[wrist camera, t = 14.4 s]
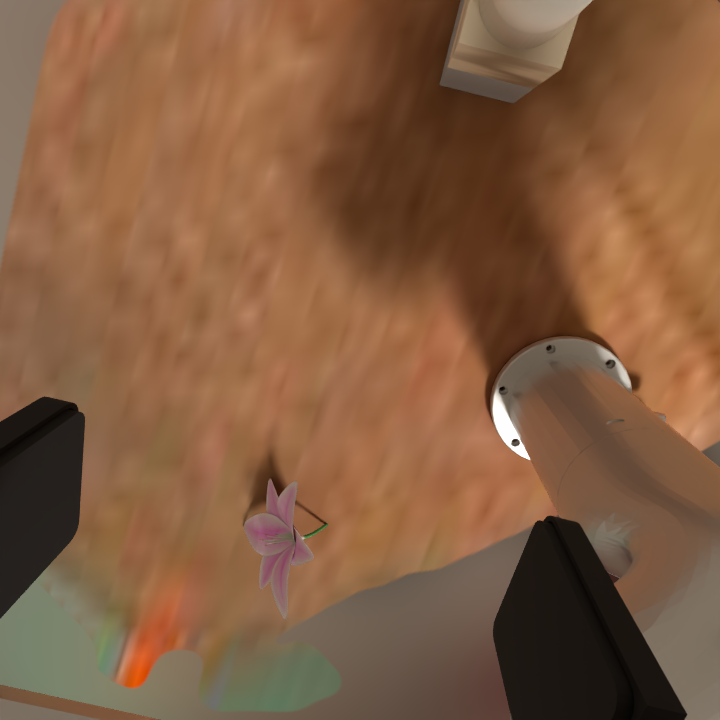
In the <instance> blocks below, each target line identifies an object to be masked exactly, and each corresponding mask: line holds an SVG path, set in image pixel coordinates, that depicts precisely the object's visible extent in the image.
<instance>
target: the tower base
mask: <svg viewBox="0 0 720 720" xmlns="http://www.w3.org/2000/svg"><path fill="white" fill-rule="evenodd" d="M464 1H465V0H461V1H460V5H459V9H458V13H457V17H456V21H455V25H454V29H453V33H452V36H451V40H450V44H449V48H448V52H447V56H446V60H445V64H444V68H443V72H442V76H441V80H440V84H439V85H441V86H445V87H449V88H453V89H457V90H461V91H465V92H469V93H473V94H477V95H481V96H485V97H489V98H493V99H497V100H501V101H505V102H509V103H514V102H516V101H517V100H519V99H520V98H522V97H523V96H524V95H526V94H527V93H529V92H530V91H531V90H533V89H531V88H527V87H523V86H519V85H515V84H511V83H508V82H504V81H500V80H496V79H492V78H488V77H484V76H480V75H476V74H472V73H468V72H464V71H460V70H456V69H452V68H448V63H449V59H450V55H451V51H452V47H453V43H454V40H455V36H456V32H457V28H458V24H459V20H460V16H461V12H462V8H463V4H464Z"/></svg>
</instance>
